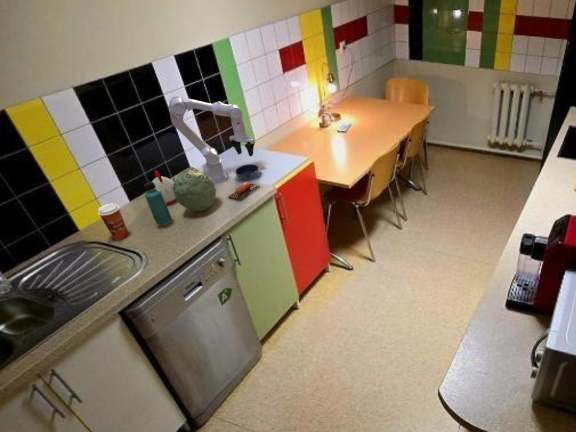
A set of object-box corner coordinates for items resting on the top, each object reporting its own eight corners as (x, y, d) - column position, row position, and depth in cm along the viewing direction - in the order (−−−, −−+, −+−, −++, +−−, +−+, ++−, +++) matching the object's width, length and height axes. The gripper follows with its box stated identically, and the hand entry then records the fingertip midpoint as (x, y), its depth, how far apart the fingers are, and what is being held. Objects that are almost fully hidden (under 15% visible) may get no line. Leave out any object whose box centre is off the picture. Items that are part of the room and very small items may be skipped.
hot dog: (240, 195, 197) (238, 189, 196) (235, 194, 198) (233, 188, 197) (252, 186, 204) (251, 181, 202) (247, 185, 205) (246, 180, 204)
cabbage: (227, 198, 198) (215, 160, 187) (207, 220, 182) (193, 180, 171) (196, 197, 200) (183, 159, 189) (174, 219, 185) (158, 179, 174)
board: (240, 200, 195) (239, 198, 195) (228, 198, 198) (228, 196, 197) (259, 187, 206) (259, 185, 205) (248, 185, 208) (247, 182, 208)
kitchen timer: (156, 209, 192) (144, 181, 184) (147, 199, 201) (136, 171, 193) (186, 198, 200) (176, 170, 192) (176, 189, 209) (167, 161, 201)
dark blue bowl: (237, 184, 210) (235, 176, 208) (236, 174, 220) (234, 167, 217) (261, 179, 213) (260, 171, 211) (259, 169, 223) (257, 162, 220)
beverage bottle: (176, 221, 183) (161, 180, 172) (165, 229, 178) (148, 188, 167) (165, 219, 185) (148, 178, 174) (153, 227, 180) (136, 186, 169)
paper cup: (117, 243, 171) (103, 214, 164) (107, 238, 175) (92, 209, 167) (135, 233, 177) (122, 205, 169) (125, 228, 180) (112, 200, 173)
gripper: (255, 128, 210) (261, 153, 217) (233, 125, 216) (240, 149, 223) (246, 133, 205) (252, 158, 212) (224, 130, 210) (230, 155, 218)
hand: (245, 154), depth 217 cm, fingers open, 7 cm apart
